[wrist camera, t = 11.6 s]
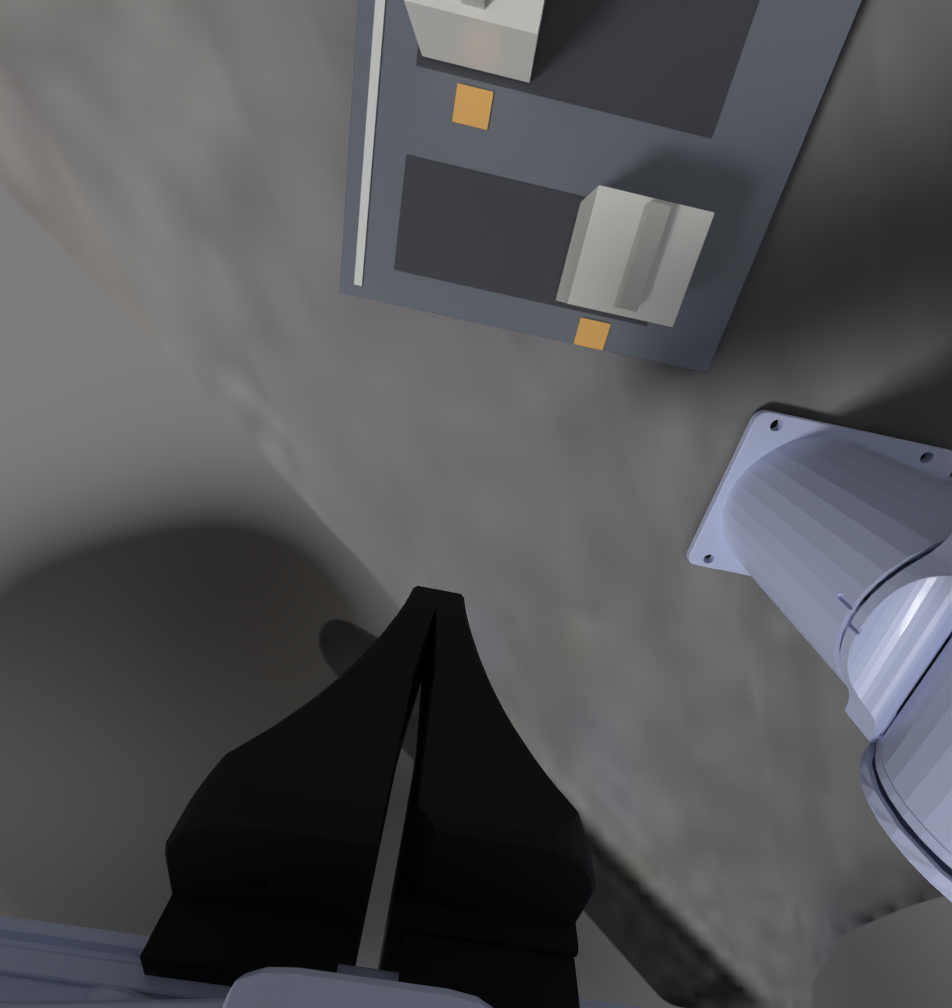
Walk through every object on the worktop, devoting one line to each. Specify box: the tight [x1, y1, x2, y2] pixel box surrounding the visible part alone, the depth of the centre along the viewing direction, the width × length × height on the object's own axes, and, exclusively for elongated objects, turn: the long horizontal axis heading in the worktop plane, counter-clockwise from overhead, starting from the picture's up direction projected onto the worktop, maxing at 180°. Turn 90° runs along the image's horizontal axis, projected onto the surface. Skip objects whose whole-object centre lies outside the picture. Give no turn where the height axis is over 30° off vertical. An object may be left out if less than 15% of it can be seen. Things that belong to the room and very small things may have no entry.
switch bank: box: [340, 0, 862, 373], centre depth 15 cm, size 15×18×1 cm
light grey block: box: [556, 185, 714, 327], centre depth 15 cm, size 4×3×4 cm
